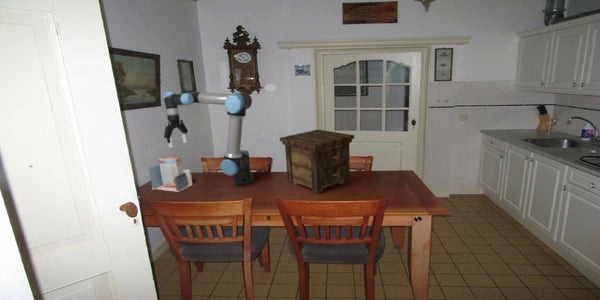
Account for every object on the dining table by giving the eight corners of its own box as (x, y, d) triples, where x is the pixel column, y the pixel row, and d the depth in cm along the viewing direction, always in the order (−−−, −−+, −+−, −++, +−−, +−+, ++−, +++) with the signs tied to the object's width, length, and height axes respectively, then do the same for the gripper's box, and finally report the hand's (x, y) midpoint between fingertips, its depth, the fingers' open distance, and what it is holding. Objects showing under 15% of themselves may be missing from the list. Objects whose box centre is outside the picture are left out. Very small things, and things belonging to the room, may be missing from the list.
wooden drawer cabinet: (319, 171, 234) (317, 129, 226) (354, 182, 208) (354, 135, 200) (282, 183, 213) (279, 137, 205) (317, 197, 187) (314, 145, 178)
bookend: (187, 186, 214) (185, 172, 212) (178, 191, 206) (176, 177, 204) (186, 186, 215) (184, 172, 212) (176, 190, 207) (174, 177, 204)
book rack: (192, 186, 218) (189, 164, 214) (178, 193, 205) (174, 170, 201) (167, 183, 227) (163, 162, 223) (152, 189, 215) (147, 168, 211)
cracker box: (185, 185, 217) (180, 156, 212) (180, 188, 212) (175, 159, 206) (168, 184, 221) (164, 156, 216) (163, 187, 215) (158, 158, 210)
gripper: (181, 112, 220) (186, 140, 225) (154, 117, 197) (160, 149, 202) (189, 111, 217) (194, 140, 222) (163, 117, 194) (169, 149, 199)
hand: (178, 144), depth 212 cm, fingers open, 13 cm apart
